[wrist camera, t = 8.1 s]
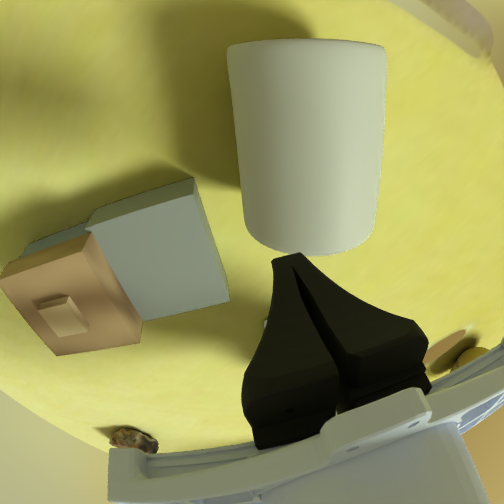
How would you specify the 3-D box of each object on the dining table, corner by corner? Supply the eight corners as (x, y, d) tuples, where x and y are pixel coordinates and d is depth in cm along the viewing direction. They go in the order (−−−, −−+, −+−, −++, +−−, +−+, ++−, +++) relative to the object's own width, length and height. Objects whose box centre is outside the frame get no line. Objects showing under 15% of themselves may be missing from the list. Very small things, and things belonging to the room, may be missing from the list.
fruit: (451, 345, 43) (478, 389, 35) (492, 328, 44) (517, 364, 36) (430, 380, 50) (450, 419, 41) (469, 362, 51) (490, 396, 42)
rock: (128, 420, 41) (94, 439, 41) (138, 452, 37) (102, 468, 37) (163, 426, 47) (128, 444, 48) (173, 455, 44) (137, 470, 44)
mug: (196, 51, 14) (218, 218, 21) (312, 34, 9) (312, 280, 15) (333, 48, 20) (333, 171, 26) (433, 58, 14) (419, 205, 20)
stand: (226, 277, 27) (230, 301, 24) (142, 298, 27) (138, 322, 24) (193, 177, 21) (193, 193, 19) (96, 208, 21) (84, 228, 19)
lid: (142, 320, 24) (138, 350, 22) (62, 336, 24) (54, 363, 22) (91, 231, 19) (77, 259, 16) (8, 262, 19) (-8, 287, 16)
